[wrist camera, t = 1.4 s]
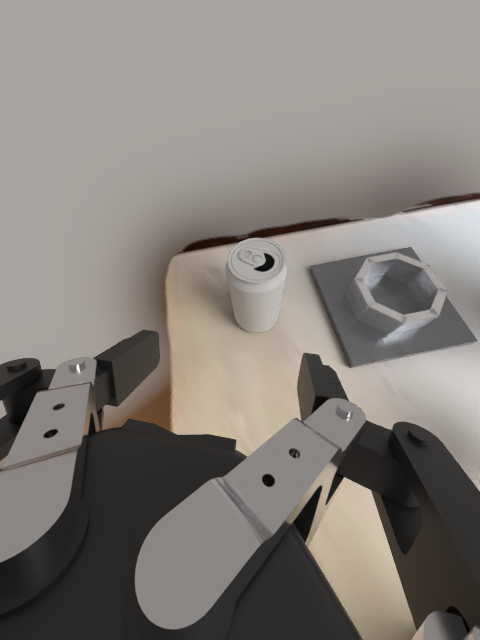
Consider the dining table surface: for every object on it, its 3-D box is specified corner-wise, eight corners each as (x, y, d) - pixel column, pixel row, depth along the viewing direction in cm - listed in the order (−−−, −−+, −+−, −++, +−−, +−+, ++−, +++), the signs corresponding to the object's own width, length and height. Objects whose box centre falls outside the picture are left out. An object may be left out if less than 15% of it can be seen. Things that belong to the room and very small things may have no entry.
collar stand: (407, 251, 36) (426, 228, 32) (470, 343, 29) (505, 329, 25) (309, 270, 35) (316, 249, 31) (350, 368, 28) (365, 357, 24)
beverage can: (266, 342, 31) (271, 295, 20) (226, 322, 32) (211, 269, 22) (285, 306, 33) (300, 246, 22) (247, 290, 35) (243, 226, 24)
